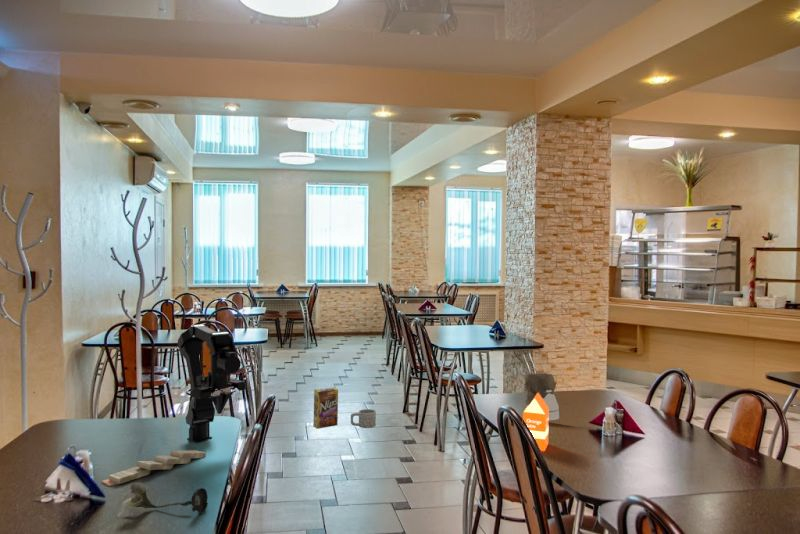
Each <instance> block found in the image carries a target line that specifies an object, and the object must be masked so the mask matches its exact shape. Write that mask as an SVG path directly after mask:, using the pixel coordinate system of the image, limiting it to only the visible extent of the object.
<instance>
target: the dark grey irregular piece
mask: <svg viewBox="0 0 800 534" xmlns="http://www.w3.org/2000/svg"><path fill="white" fill-rule="evenodd" d="M523 386H524V388H523V389H524V392H525V404H526V406H527V405H530V403H531V402H532V401H533V400H534V397H535V396H536V394H537V393H539V394H540V396H541V397H542V398H545V396H546V395H547V394H549V393H551V394H552V395H553V394H554V393H555V390H556V387H557V383H556V381H555V377H554V375H553V374H552V373H547V372H537V373H532V372H529V373H528V372H527V373H526V374H525V376H524V384H523ZM547 390H552V392H546V391H547ZM554 395H555V394H554Z"/></svg>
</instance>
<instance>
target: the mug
mask: <svg viewBox="0 0 800 534" xmlns="http://www.w3.org/2000/svg"><path fill="white" fill-rule="evenodd" d="M356 416H357V417H358V422H355V421H354V417H356ZM376 416H377V413H376V410H375V409H371V408H369V409H366V408H365V409H360V410H359V411H358V412H354V413H351V415H350V424H351V426H355V427H359V428H361V429H362V428H363V429H371V428H375V427H376V422H377V421H376V419H377V418H376Z"/></svg>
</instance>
